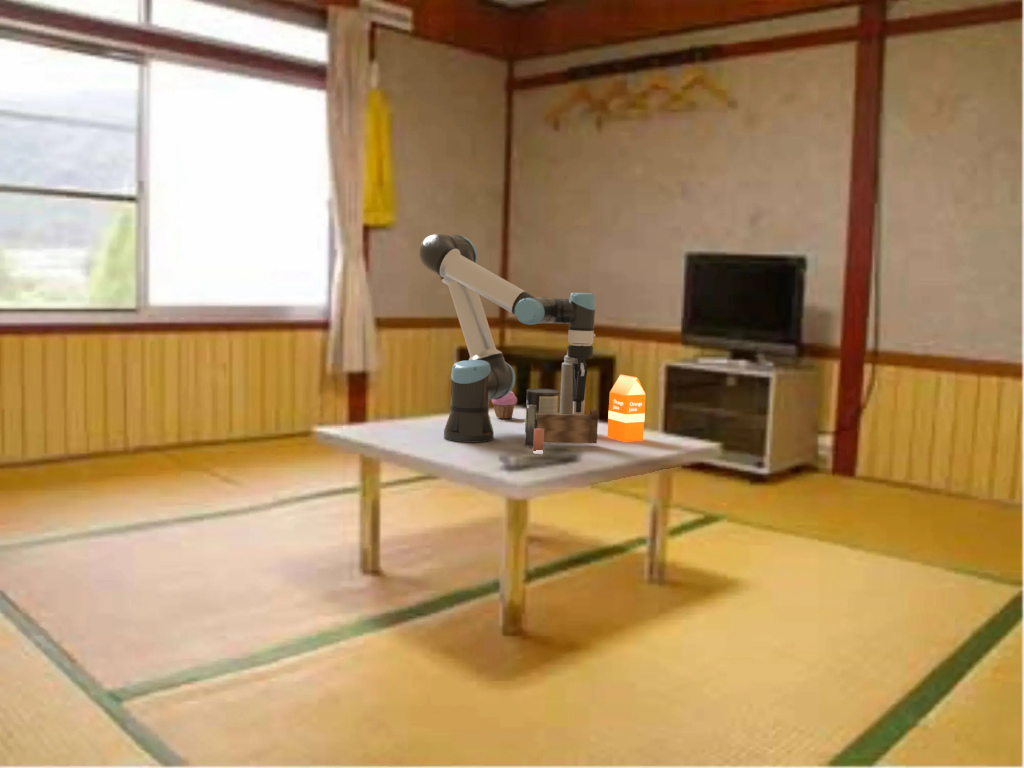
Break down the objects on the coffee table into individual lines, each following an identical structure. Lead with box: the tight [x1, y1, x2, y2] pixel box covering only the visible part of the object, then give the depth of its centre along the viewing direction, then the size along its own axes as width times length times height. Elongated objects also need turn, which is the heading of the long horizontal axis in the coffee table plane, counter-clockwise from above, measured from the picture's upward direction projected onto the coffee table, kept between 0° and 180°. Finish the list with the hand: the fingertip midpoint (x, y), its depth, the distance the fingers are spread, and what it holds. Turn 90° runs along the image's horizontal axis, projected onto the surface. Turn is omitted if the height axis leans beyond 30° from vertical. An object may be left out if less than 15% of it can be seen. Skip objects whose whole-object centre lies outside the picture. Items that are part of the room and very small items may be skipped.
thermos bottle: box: [559, 350, 587, 414], centre depth 303 cm, size 8×8×28 cm
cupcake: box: [491, 391, 518, 420], centre depth 328 cm, size 9×9×10 cm
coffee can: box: [524, 388, 560, 435], centre depth 297 cm, size 10×10×14 cm
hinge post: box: [524, 405, 536, 447], centre depth 278 cm, size 3×3×12 cm
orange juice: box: [607, 373, 647, 443], centre depth 296 cm, size 8×9×20 cm
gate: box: [537, 408, 599, 444], centre depth 280 cm, size 18×2×10 cm, turn 99°
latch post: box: [532, 428, 545, 452], centre depth 266 cm, size 3×3×7 cm
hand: (577, 422), depth 284 cm, fingers closed
